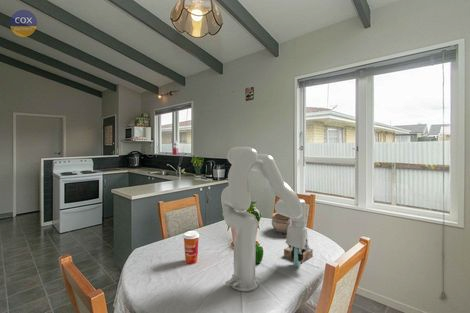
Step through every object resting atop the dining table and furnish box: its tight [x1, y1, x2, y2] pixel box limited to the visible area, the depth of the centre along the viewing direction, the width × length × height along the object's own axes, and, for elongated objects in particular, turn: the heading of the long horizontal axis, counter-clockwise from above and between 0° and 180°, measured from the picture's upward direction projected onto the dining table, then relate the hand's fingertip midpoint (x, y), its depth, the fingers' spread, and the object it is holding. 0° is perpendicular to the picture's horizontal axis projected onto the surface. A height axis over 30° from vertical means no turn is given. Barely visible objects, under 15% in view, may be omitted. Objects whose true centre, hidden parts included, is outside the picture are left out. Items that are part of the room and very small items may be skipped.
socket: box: [283, 246, 314, 264], centre depth 131 cm, size 11×11×4 cm
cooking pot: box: [271, 212, 290, 235], centre depth 167 cm, size 25×19×12 cm
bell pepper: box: [255, 242, 264, 265], centre depth 125 cm, size 8×8×10 cm
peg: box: [293, 247, 301, 268], centre depth 121 cm, size 3×3×10 cm
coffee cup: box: [182, 230, 200, 265], centre depth 125 cm, size 8×8×15 cm
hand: (297, 259), depth 122 cm, fingers closed on peg, 3 cm apart
